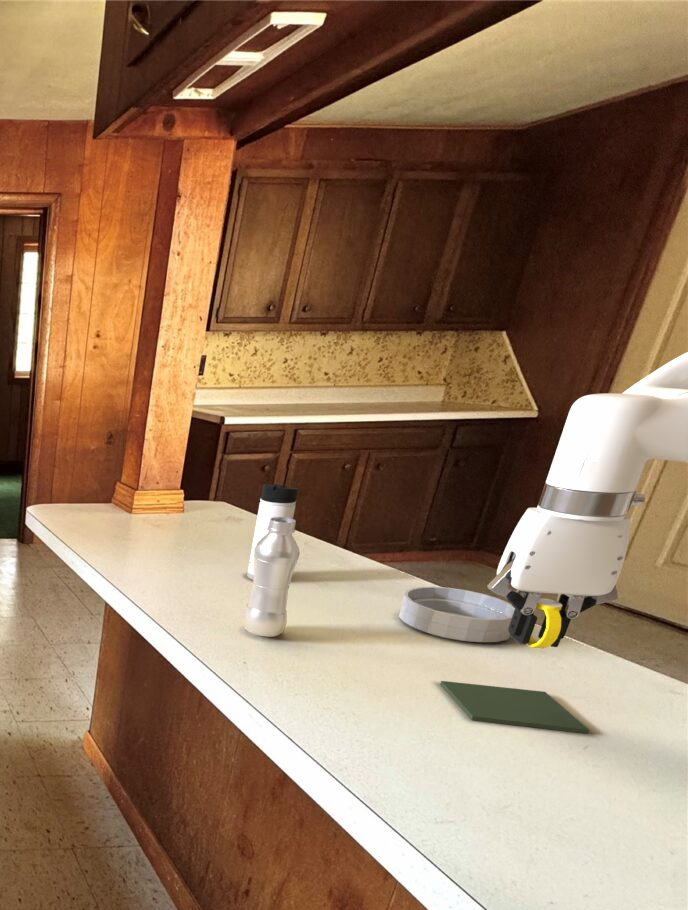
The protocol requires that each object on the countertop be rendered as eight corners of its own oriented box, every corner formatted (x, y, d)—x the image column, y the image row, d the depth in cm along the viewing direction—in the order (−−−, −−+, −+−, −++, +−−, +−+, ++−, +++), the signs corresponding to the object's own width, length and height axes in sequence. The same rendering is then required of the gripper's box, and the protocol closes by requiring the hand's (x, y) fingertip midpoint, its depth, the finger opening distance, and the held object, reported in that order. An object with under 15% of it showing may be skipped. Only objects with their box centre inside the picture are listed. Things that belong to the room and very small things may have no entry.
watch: (504, 633, 89) (519, 592, 86) (529, 635, 88) (545, 594, 86) (531, 652, 83) (548, 609, 81) (558, 655, 83) (575, 611, 80)
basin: (484, 614, 118) (492, 590, 116) (529, 649, 104) (539, 623, 103) (385, 606, 122) (391, 583, 121) (416, 639, 109) (424, 614, 107)
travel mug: (238, 576, 139) (255, 482, 132) (260, 571, 142) (277, 478, 135) (265, 585, 134) (284, 488, 127) (287, 579, 137) (306, 484, 129)
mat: (543, 695, 92) (545, 691, 91) (587, 733, 83) (589, 729, 83) (439, 684, 95) (441, 680, 95) (471, 719, 87) (472, 716, 86)
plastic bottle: (261, 643, 109) (283, 527, 102) (231, 628, 116) (250, 517, 108) (292, 638, 111) (317, 523, 104) (261, 623, 117) (282, 513, 110)
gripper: (648, 497, 80) (593, 636, 86) (485, 492, 85) (445, 623, 91) (695, 512, 73) (632, 661, 80) (515, 506, 78) (470, 646, 85)
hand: (533, 640), depth 85 cm, fingers closed on watch, 2 cm apart
